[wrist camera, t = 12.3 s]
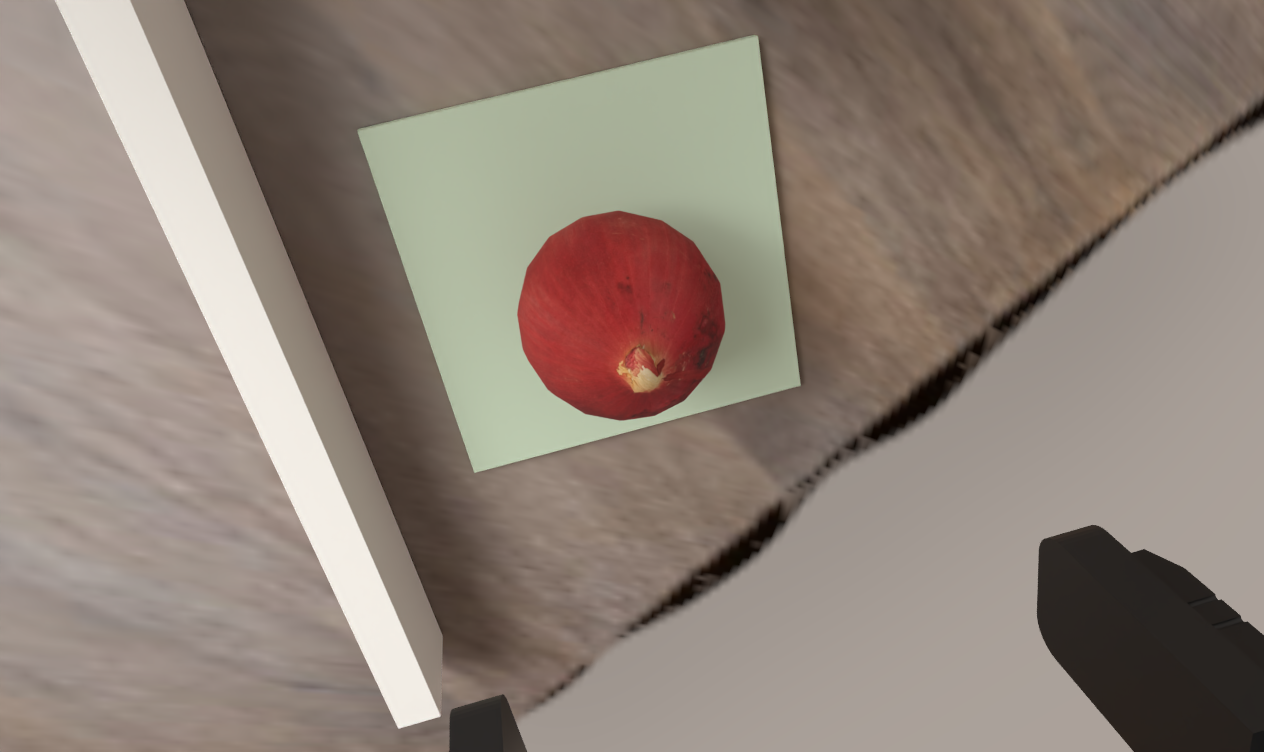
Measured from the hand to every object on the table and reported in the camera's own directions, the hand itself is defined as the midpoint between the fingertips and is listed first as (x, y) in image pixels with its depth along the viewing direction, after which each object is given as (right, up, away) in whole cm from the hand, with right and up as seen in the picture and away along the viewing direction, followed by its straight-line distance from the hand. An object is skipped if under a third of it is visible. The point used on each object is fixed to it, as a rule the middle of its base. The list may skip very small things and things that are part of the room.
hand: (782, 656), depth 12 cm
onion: (-3, +7, +16) cm, 18 cm away
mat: (-3, +8, +16) cm, 18 cm away
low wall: (-13, +5, +15) cm, 20 cm away
